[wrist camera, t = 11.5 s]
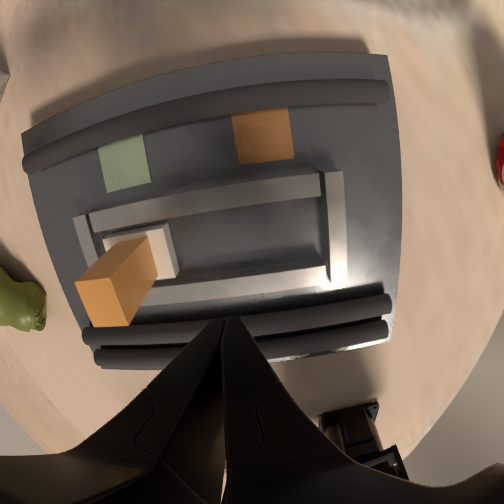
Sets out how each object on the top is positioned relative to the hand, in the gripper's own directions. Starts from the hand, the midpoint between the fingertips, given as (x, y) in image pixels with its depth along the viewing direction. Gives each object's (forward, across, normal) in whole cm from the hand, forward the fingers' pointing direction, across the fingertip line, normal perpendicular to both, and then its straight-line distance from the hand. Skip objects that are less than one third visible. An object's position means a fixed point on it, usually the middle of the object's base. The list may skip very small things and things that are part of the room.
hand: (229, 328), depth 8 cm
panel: (+11, +2, 0) cm, 11 cm away
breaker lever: (+9, +6, 0) cm, 11 cm away
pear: (+11, +22, +2) cm, 25 cm away
